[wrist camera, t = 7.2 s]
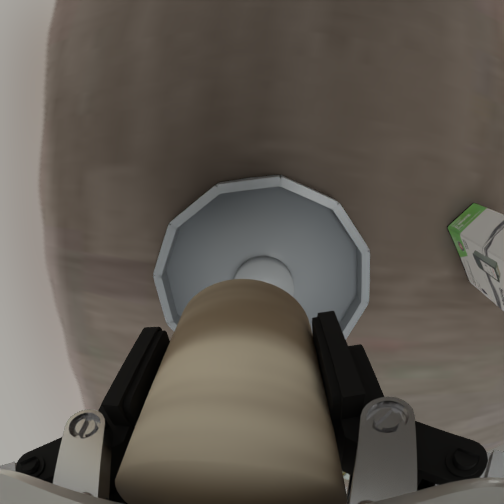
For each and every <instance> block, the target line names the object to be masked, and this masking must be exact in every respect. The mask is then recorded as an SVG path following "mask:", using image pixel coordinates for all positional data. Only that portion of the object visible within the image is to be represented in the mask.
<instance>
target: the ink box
mask: <svg viewBox="0 0 504 504" xmlns="http://www.w3.org/2000/svg"><path fill="white" fill-rule="evenodd" d="M448 230H449V232H450V235H451V237H452V239H453V241H454V244H455V246H456V248H457V251H458V253H459V256H460V258H461V261H462V263H463V266H464V268H465V271H466V273H467V276H468V279H469V282H470V283H471V284H473V285H474V286H475V287H476V288H477V289H478V290H480V291H481V292H482V293H483V294H484V295H485V296H487V297H488V298H489V299H490V300H491V301H493V302H494V303H495V304H496V305H497V306H498V307H499V308H501V309H502V310H503V311H504V215H503V214H501V213H499V212H496V211H494V210H491V209H489V208H486V207H483V206H481V205H478V204H476V203H473V204H472V205H471V206H470V207H469V208H468V209H466V210H465V211H464V212H463V213H462V214H461V215H460V216H459V217H458V218H457V219H456V220H454V221H453V222H452V223H451V224H450V225H449V226H448Z"/></svg>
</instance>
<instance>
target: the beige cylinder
mask: <svg viewBox="0 0 504 504" xmlns="http://www.w3.org/2000/svg"><path fill="white" fill-rule="evenodd" d="M115 486H116V489H117V491H118V493H119V494H120V496H121V497H122V498H123V499H124V501H125V502H126V503H128V504H347V495H346V490H345V484H344V479H343V473H342V468H341V463H340V458H339V453H338V448H337V443H336V438H335V433H334V428H333V425H332V421H331V416H330V411H329V407H328V402H327V397H326V393H325V388H324V384H323V379H322V375H321V370H320V366H319V362H318V357H317V353H316V349H315V344H314V340H313V334H312V330H311V326H310V323H309V319H308V317H307V315H306V312H305V311H304V309H303V308H302V306H301V305H300V304H299V302H298V301H297V300H296V299H295V298H294V297H292V296H291V295H290V294H289V293H287V292H286V291H284V290H283V289H281V288H279V287H277V286H275V285H273V284H270V283H267V282H263V281H259V280H253V279H232V280H226V281H222V282H219V283H215V284H213V285H211V286H209V287H207V288H205V289H203V290H202V291H200V292H199V293H198V294H196V295H195V296H194V297H193V298H192V299H191V300H190V301H189V303H188V304H187V306H186V307H185V309H184V311H183V313H182V315H181V318H180V320H179V322H178V325H177V327H176V329H175V331H174V334H173V336H172V338H171V341H170V343H169V345H168V348H167V350H166V352H165V355H164V357H163V360H162V362H161V364H160V367H159V369H158V372H157V374H156V376H155V379H154V381H153V384H152V386H151V389H150V391H149V393H148V396H147V398H146V401H145V403H144V406H143V408H142V411H141V413H140V416H139V418H138V421H137V423H136V426H135V429H134V431H133V434H132V436H131V439H130V442H129V444H128V447H127V449H126V452H125V455H124V457H123V460H122V463H121V465H120V468H119V471H118V473H117V476H116V479H115Z"/></svg>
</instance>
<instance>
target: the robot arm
mask: <svg viewBox="0 0 504 504" xmlns="http://www.w3.org/2000/svg"><path fill="white" fill-rule="evenodd" d="M312 334H313V340H314V344H315V349H316V353H317V357H318V362H319V366H320V370H321V375H322V379H323V384H324V388H325V393H326V397H327V402H328V407H329V411H330V416H331V421H332V425H333V428H334V433H335V438H336V443H337V448H338V453H339V458H340V463H341V468H342V471H343V472H345V473H347V474H349V482H348V488H347V494H346V495H347V504H504V451H499V450H493V452H492V453H489V452H486V451H485V449H484V447H483V446H482V445H480V444H479V443H478V442H475V441H473V440H470V439H467V438H464V437H461V436H457V435H454V434H451V433H448V432H445V431H442V430H439V429H436V428H434V427H431V426H428V425H425V424H422V423H420V422H417V421H415V415H414V412H413V409H412V407H411V406H410V405H409V404H408V403H407V402H405V401H404V400H402V399H399V398H396V397H384V395H383V393H382V390H381V388H380V385H379V383H378V381H377V378H376V376H375V373H374V371H373V369H372V366H371V364H370V362H369V359H368V357H367V355H366V353H365V350H364V348H363V346H362V345H361V344H360V345H354V346H348V345H347V343H346V340H345V337H344V335H343V332H342V330H341V327H340V324H339V322H338V319H337V317H336V314H335V312H334V311H327V312H320V313H318V315H317V317H314V318H312ZM169 343H170V341H169V338H168V335H167V332H166V331H162V329H161V328H160V327H147V328H144V329H143V330H142V332H141V334H140V335H139V337H138V339H137V341H136V342H135V344H134V346H133V348H132V349H131V351H130V353H129V355H128V356H127V358H126V360H125V362H124V363H123V365H122V367H121V369H120V371H119V372H118V374H117V376H116V378H115V380H114V381H113V383H112V385H111V387H110V389H109V391H108V393H107V394H106V396H105V398H104V400H103V402H102V404H101V407H100V408H99V410H98V411H96V410H93V409H87V410H82V411H79V412H77V413H75V414H74V415H73V416H71V417H70V418H69V420H68V421H67V423H66V425H65V428H64V432H63V436H62V437H61V438H59V439H57V440H55V441H53V442H50V443H48V444H46V445H43V446H41V447H39V448H36V449H34V450H32V451H30V452H27V453H26V454H24V455H23V456H22V457H21V458H20V459H19V460H18V462H17V464H16V463H15V462H12V463H9V464H5V465H1V466H0V504H128V503H126V502H125V501H124V499H123V498H122V497H121V496H120V494H119V493H118V491H117V489H116V486H115V479H116V476H117V473H118V471H119V468H120V465H121V463H122V460H123V457H124V455H125V452H126V449H127V447H128V444H129V442H130V439H131V436H132V434H133V431H134V429H135V426H136V423H137V421H138V418H139V416H140V413H141V411H142V408H143V406H144V403H145V401H146V398H147V396H148V393H149V391H150V389H151V386H152V384H153V381H154V379H155V376H156V374H157V372H158V369H159V367H160V364H161V362H162V360H163V357H164V355H165V352H166V350H167V348H168V345H169Z"/></svg>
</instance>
